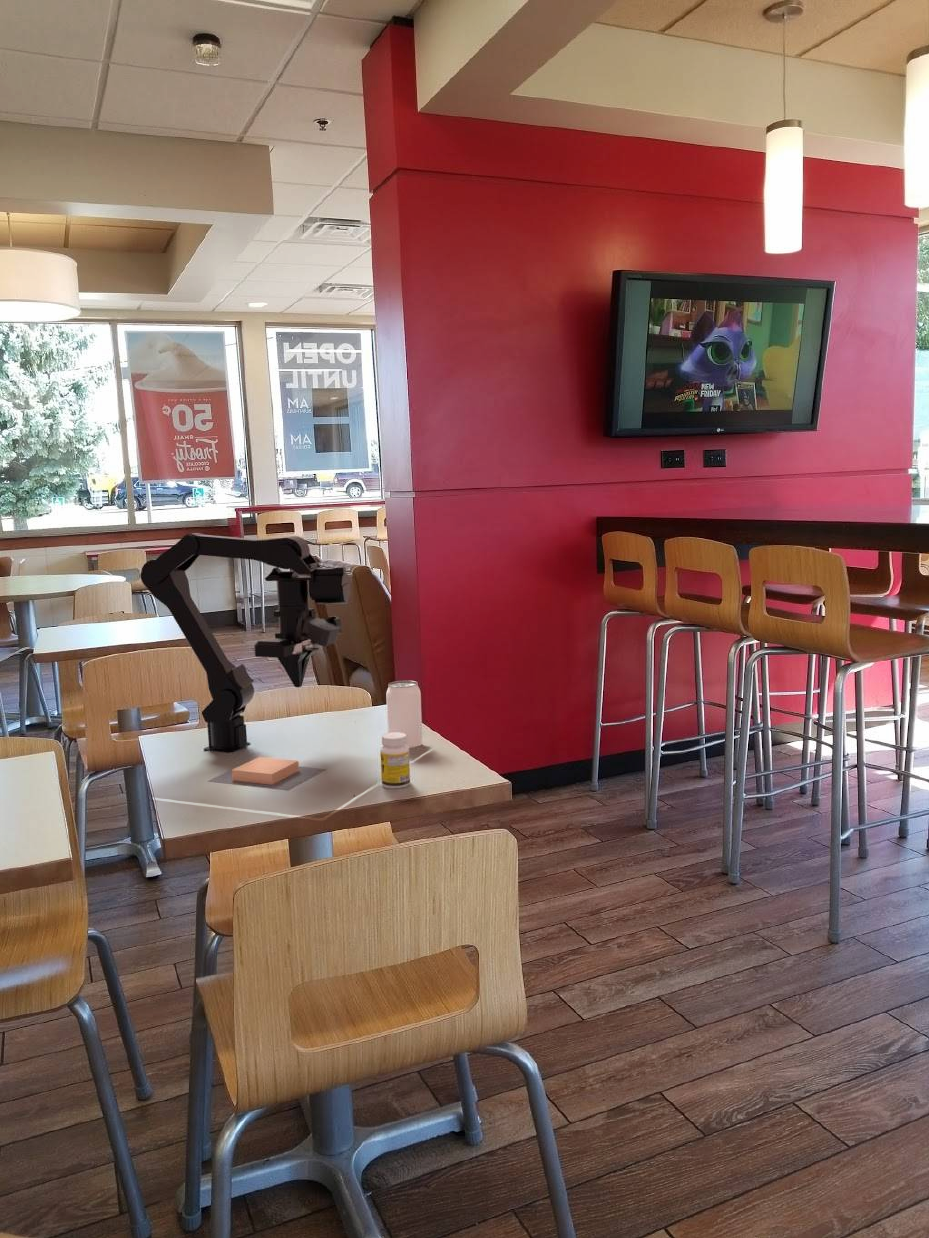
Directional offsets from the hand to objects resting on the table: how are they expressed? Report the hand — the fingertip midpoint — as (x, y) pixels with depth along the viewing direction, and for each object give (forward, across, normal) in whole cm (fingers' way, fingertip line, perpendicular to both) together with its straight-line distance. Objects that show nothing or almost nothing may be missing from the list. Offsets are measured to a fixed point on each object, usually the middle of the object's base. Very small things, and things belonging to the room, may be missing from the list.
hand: (298, 686), depth 176 cm
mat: (+12, -17, -4) cm, 21 cm away
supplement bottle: (+12, -14, -27) cm, 33 cm away
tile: (+11, -14, -4) cm, 18 cm away
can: (+12, +8, -18) cm, 23 cm away
